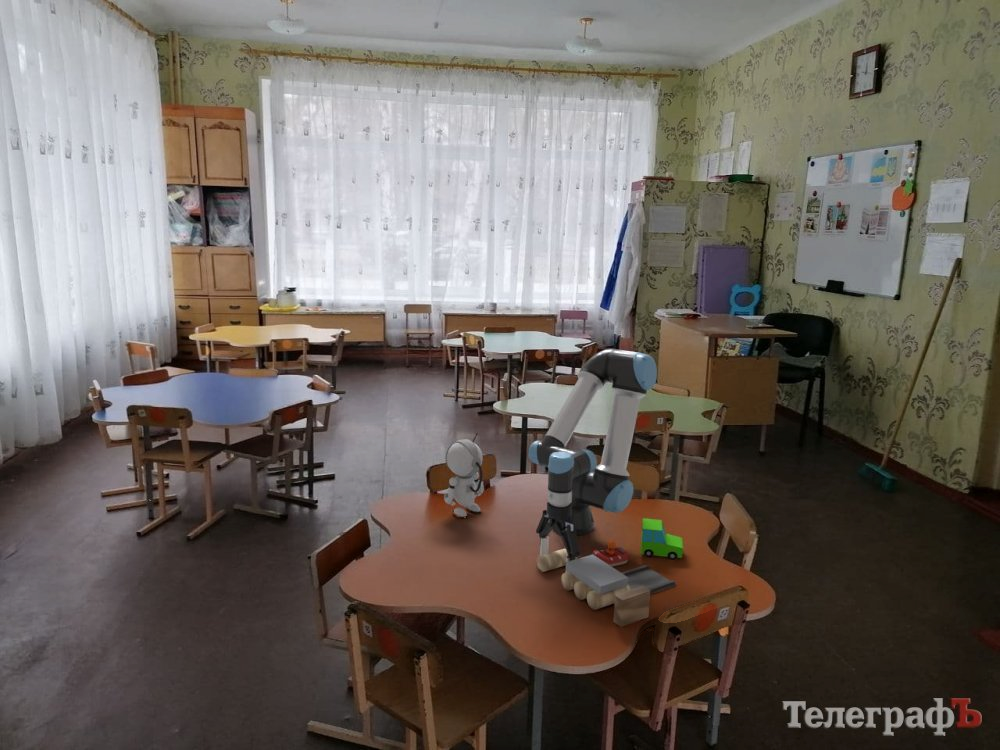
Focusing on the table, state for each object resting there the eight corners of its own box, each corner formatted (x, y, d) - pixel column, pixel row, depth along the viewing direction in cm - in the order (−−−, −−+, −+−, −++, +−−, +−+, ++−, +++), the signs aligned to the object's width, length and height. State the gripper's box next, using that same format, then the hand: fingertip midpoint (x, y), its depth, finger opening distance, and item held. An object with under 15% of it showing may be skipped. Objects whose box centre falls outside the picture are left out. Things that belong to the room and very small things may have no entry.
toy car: (682, 563, 226) (685, 534, 223) (640, 558, 228) (642, 529, 226) (681, 548, 235) (683, 521, 233) (640, 544, 238) (642, 517, 236)
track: (561, 585, 210) (562, 561, 208) (637, 561, 226) (638, 538, 224) (617, 628, 189) (619, 601, 187) (697, 598, 204) (699, 573, 203)
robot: (482, 506, 267) (484, 430, 262) (481, 519, 254) (482, 440, 249) (447, 505, 267) (447, 429, 262) (443, 518, 254) (443, 439, 249)
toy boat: (587, 560, 226) (588, 538, 225) (618, 554, 231) (619, 532, 229) (600, 571, 219) (601, 548, 218) (631, 564, 224) (633, 542, 223)
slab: (565, 569, 209) (566, 562, 209) (592, 561, 214) (592, 554, 214) (600, 594, 196) (600, 586, 195) (627, 585, 201) (628, 577, 201)
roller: (545, 574, 217) (546, 559, 216) (536, 567, 221) (537, 552, 220) (576, 565, 223) (577, 550, 222) (567, 558, 227) (568, 544, 226)
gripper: (526, 490, 226) (524, 552, 230) (574, 519, 205) (571, 586, 210) (545, 486, 230) (543, 547, 234) (594, 514, 209) (590, 580, 213)
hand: (556, 565), depth 222 cm, fingers open, 13 cm apart
